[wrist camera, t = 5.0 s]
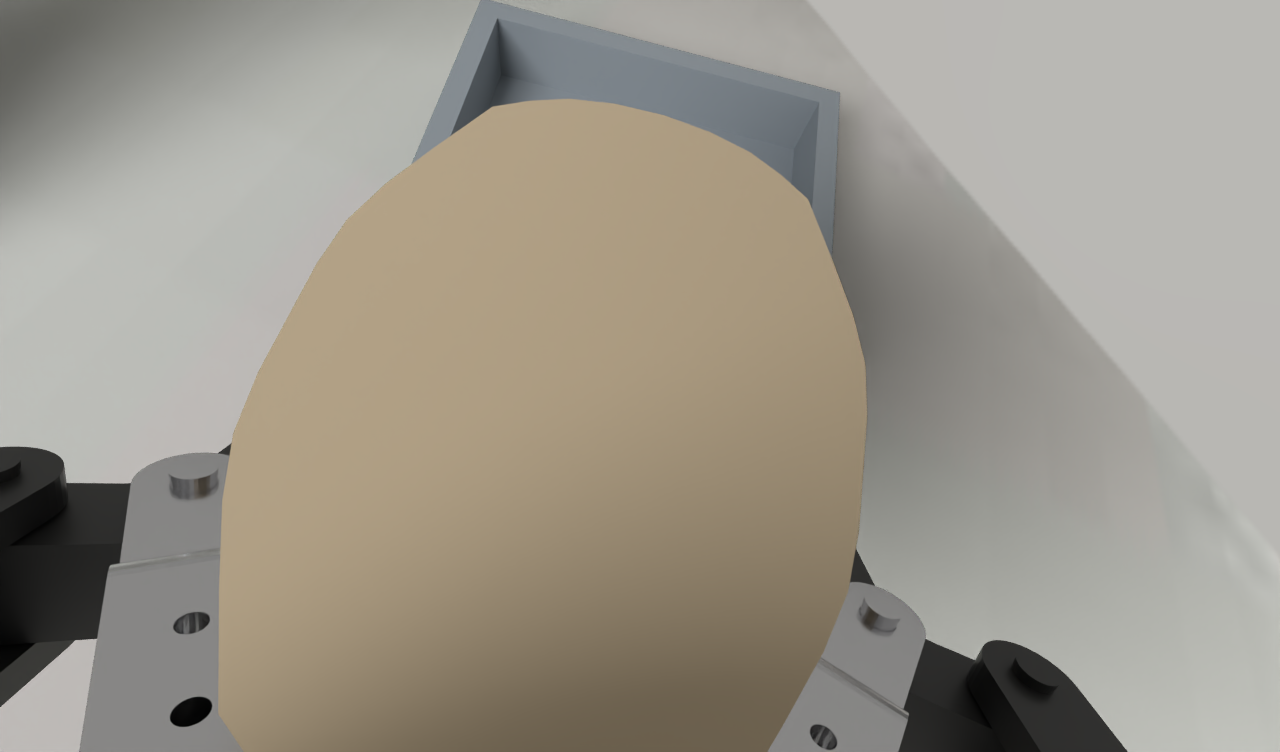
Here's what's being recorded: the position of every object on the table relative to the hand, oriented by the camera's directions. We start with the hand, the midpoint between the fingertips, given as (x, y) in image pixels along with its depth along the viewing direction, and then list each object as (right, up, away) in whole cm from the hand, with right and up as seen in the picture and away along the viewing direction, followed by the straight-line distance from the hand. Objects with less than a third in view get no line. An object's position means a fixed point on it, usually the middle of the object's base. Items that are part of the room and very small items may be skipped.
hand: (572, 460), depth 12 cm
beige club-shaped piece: (-1, -4, +6) cm, 8 cm away
